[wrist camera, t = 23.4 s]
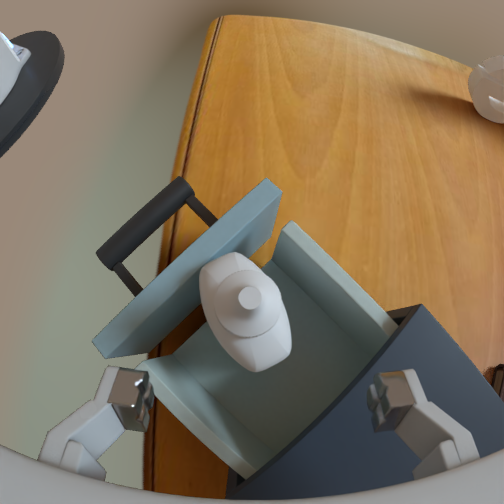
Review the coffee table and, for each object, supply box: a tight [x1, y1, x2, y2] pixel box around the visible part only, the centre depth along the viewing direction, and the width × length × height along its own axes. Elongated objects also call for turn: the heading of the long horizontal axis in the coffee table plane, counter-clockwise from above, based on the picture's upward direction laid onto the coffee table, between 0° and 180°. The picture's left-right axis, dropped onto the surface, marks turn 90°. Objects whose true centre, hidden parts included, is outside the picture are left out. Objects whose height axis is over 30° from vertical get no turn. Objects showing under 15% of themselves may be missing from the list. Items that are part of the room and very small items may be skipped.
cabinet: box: [225, 304, 504, 500], centre depth 16 cm, size 16×14×10 cm
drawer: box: [92, 176, 398, 479], centre depth 19 cm, size 19×12×8 cm, turn 45°
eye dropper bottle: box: [199, 252, 292, 372], centre depth 16 cm, size 4×6×12 cm
